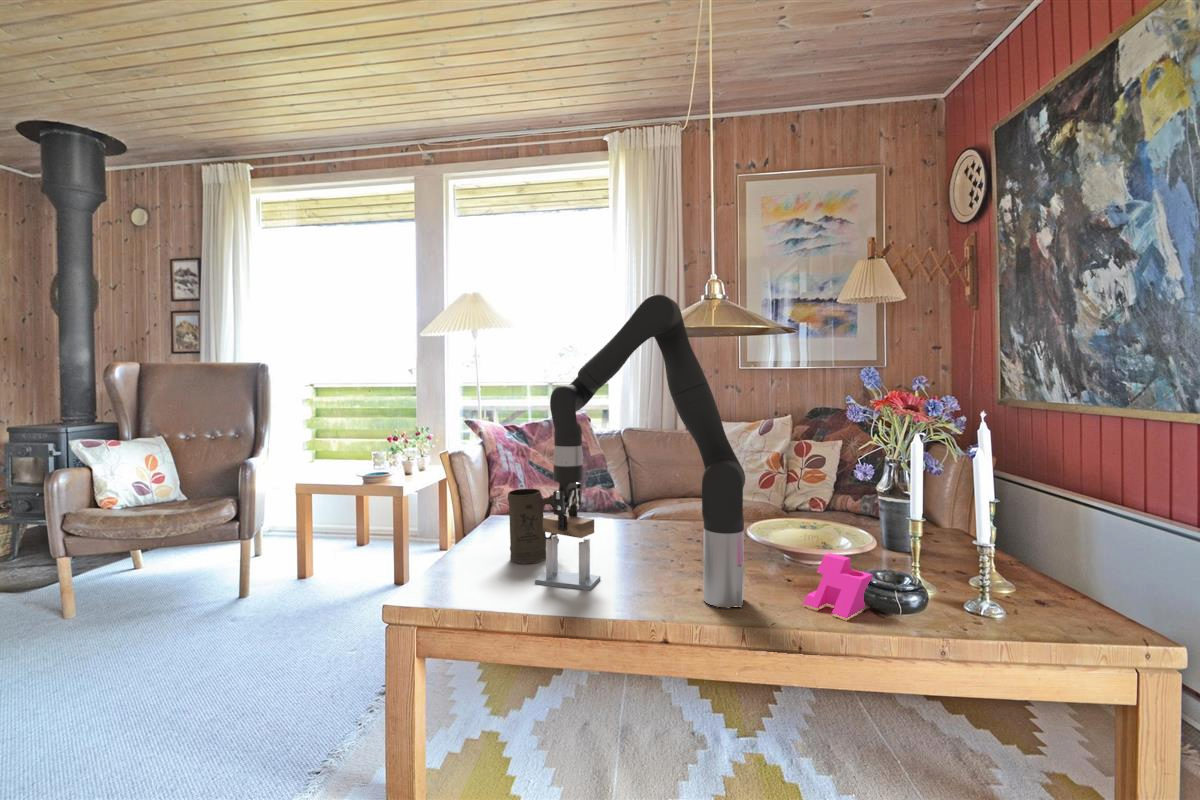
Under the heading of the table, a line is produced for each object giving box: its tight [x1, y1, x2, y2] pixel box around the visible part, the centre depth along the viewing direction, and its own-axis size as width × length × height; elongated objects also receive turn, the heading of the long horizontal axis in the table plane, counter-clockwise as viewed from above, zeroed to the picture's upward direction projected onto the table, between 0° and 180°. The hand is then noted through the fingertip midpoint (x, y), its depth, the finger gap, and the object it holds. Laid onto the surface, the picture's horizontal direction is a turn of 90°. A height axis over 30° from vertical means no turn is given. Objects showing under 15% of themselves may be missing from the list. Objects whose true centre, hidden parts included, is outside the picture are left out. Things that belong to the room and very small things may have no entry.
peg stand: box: [534, 534, 601, 591], centre depth 148 cm, size 15×8×11 cm, turn 72°
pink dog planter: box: [802, 552, 873, 618], centre depth 131 cm, size 12×10×10 cm
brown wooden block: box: [543, 514, 595, 539], centre depth 147 cm, size 12×6×4 cm, turn 58°
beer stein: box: [506, 488, 560, 564], centre depth 167 cm, size 15×11×20 cm
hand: (568, 526), depth 147 cm, fingers closed on brown wooden block, 7 cm apart
